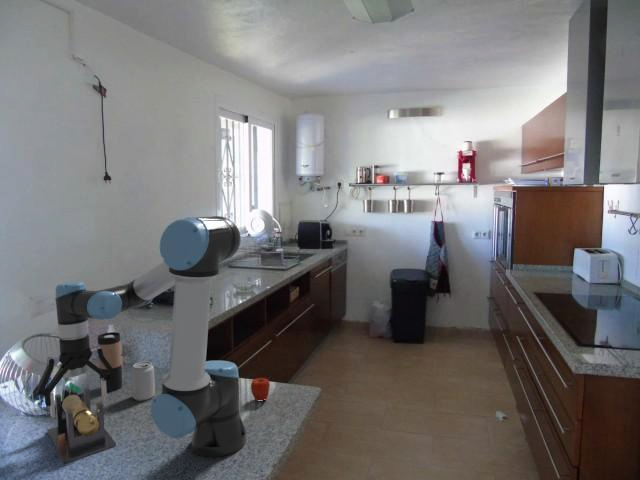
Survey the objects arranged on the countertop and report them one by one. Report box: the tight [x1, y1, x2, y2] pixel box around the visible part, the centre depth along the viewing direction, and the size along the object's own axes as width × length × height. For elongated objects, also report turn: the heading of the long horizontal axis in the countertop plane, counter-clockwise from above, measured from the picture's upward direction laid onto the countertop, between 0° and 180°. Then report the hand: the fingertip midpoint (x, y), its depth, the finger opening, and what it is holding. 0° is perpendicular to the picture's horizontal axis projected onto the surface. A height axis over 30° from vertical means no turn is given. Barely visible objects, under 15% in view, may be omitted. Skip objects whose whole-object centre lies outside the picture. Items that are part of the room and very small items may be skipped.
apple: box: [250, 377, 271, 401], centre depth 155 cm, size 6×6×8 cm
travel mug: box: [97, 331, 123, 393], centre depth 166 cm, size 8×8×20 cm
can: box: [130, 360, 156, 402], centre depth 159 cm, size 8×8×12 cm
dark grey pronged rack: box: [46, 386, 117, 465], centre depth 131 cm, size 22×13×12 cm, turn 41°
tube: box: [61, 394, 99, 436], centre depth 131 cm, size 20×5×5 cm, turn 41°
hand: (79, 408), depth 131 cm, fingers open, 13 cm apart
